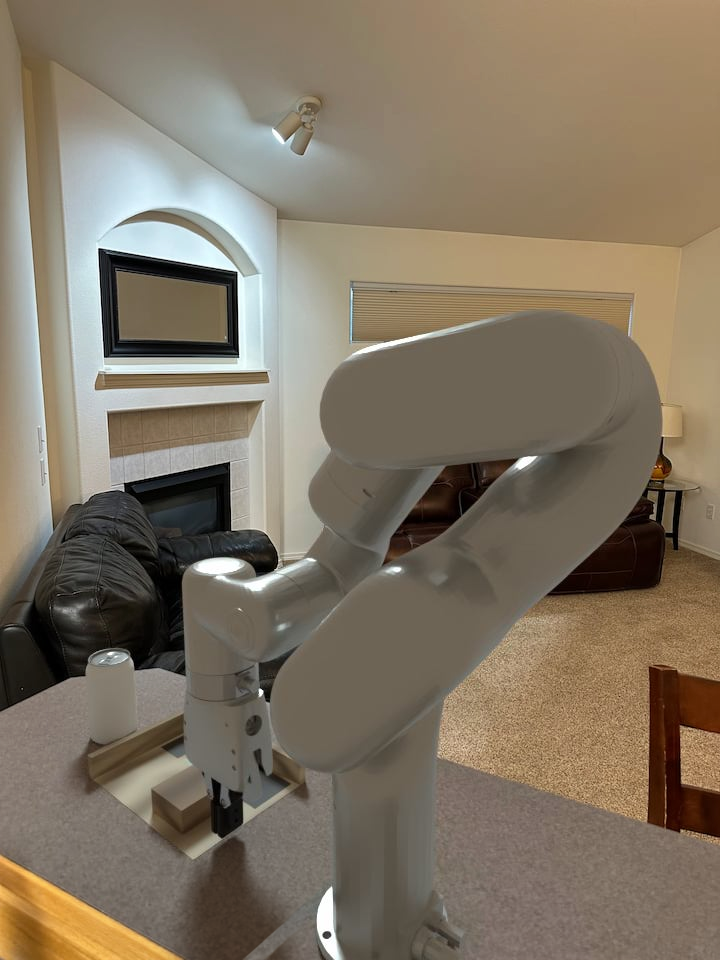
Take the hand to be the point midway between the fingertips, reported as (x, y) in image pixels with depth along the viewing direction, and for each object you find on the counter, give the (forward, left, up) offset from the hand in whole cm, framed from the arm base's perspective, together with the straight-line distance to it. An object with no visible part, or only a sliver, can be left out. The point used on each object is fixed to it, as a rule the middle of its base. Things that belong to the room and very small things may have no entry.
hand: (227, 828), depth 71 cm
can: (+30, -4, -2) cm, 31 cm away
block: (+7, 0, -1) cm, 7 cm away
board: (+11, -4, -2) cm, 12 cm away
